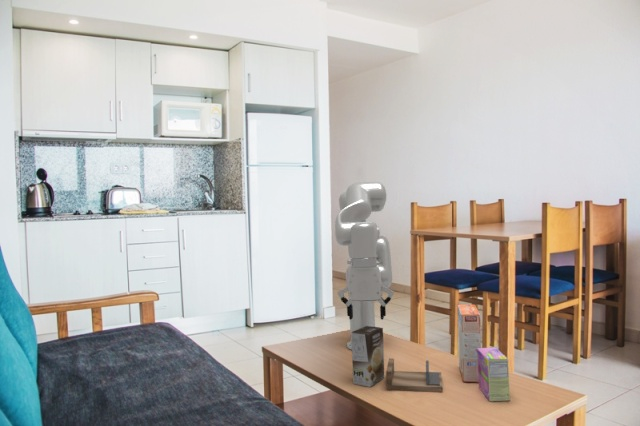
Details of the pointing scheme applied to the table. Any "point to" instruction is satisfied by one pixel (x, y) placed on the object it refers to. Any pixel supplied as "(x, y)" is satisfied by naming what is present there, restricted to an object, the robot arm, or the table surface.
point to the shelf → (409, 380)
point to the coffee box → (367, 356)
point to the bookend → (432, 376)
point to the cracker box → (469, 342)
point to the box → (493, 374)
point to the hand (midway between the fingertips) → (366, 318)
